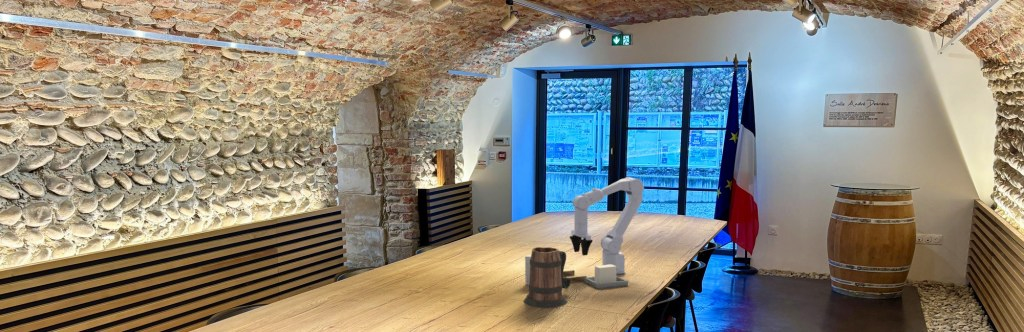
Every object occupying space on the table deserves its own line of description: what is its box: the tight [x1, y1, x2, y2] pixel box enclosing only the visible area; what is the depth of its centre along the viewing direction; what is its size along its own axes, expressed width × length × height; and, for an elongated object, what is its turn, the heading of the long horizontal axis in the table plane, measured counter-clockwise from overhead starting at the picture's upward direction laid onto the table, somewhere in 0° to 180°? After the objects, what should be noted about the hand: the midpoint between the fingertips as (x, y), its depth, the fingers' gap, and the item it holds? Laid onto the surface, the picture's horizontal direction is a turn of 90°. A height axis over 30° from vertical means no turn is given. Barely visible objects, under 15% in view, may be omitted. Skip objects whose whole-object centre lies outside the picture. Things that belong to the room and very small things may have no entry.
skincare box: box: [524, 254, 531, 286], centre depth 268 cm, size 6×4×12 cm
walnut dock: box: [563, 269, 588, 284], centre depth 277 cm, size 10×12×2 cm
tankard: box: [522, 246, 572, 309], centre depth 246 cm, size 24×17×20 cm
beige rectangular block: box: [594, 264, 617, 284], centre depth 268 cm, size 9×4×7 cm, turn 112°
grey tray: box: [583, 275, 629, 290], centre depth 269 cm, size 14×12×2 cm
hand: (580, 253), depth 284 cm, fingers open, 7 cm apart
